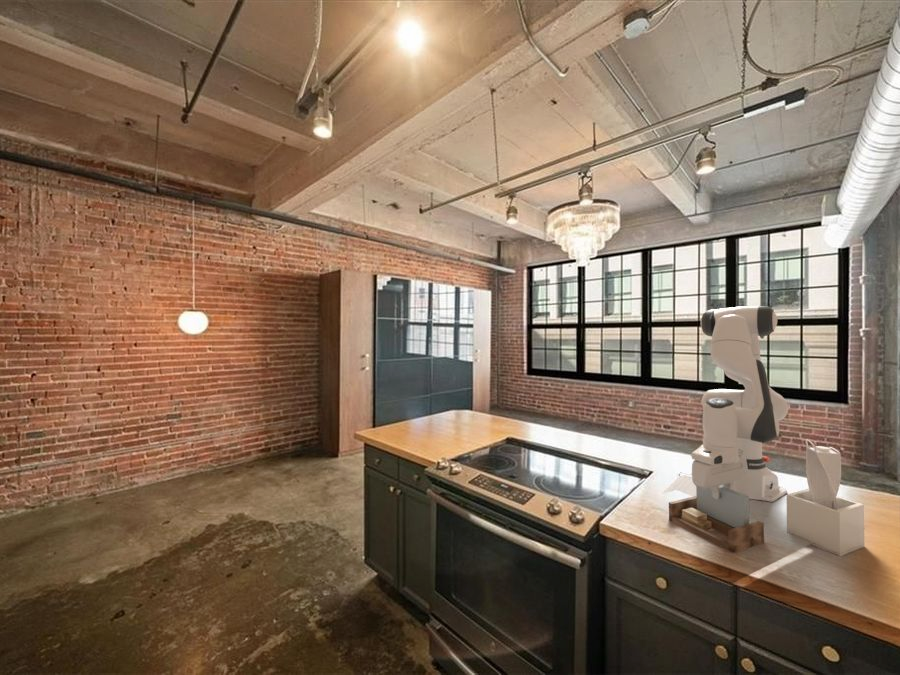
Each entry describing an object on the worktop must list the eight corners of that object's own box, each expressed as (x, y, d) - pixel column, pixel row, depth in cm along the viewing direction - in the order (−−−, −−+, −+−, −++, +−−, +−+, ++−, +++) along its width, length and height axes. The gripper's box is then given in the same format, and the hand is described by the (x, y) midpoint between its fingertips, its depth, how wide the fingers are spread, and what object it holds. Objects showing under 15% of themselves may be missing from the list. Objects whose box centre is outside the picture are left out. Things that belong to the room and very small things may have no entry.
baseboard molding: (651, 500, 137) (689, 511, 128) (651, 492, 137) (689, 503, 128) (676, 476, 158) (710, 484, 149) (676, 470, 158) (710, 477, 149)
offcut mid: (690, 519, 119) (689, 512, 119) (711, 528, 113) (711, 521, 113) (681, 522, 117) (681, 516, 117) (702, 532, 111) (702, 525, 111)
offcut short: (691, 513, 118) (691, 507, 118) (707, 520, 114) (706, 514, 114) (682, 516, 117) (682, 509, 117) (697, 523, 112) (697, 516, 112)
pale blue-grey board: (702, 508, 120) (701, 478, 120) (749, 530, 107) (748, 496, 107) (696, 510, 119) (696, 480, 119) (743, 532, 106) (743, 497, 106)
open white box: (810, 526, 115) (810, 488, 115) (864, 546, 104) (863, 504, 104) (787, 534, 111) (786, 494, 111) (840, 556, 100) (839, 512, 100)
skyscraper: (798, 533, 110) (796, 440, 110) (813, 527, 113) (811, 436, 113) (836, 548, 102) (834, 448, 102) (851, 541, 105) (849, 444, 105)
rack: (697, 516, 123) (697, 495, 123) (764, 547, 105) (763, 522, 105) (669, 524, 119) (668, 502, 119) (733, 557, 100) (732, 532, 100)
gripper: (732, 444, 119) (733, 486, 120) (687, 454, 112) (688, 498, 113) (753, 450, 114) (754, 494, 114) (707, 460, 107) (708, 507, 107)
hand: (721, 496), depth 113 cm, fingers closed on pale blue-grey board, 2 cm apart
